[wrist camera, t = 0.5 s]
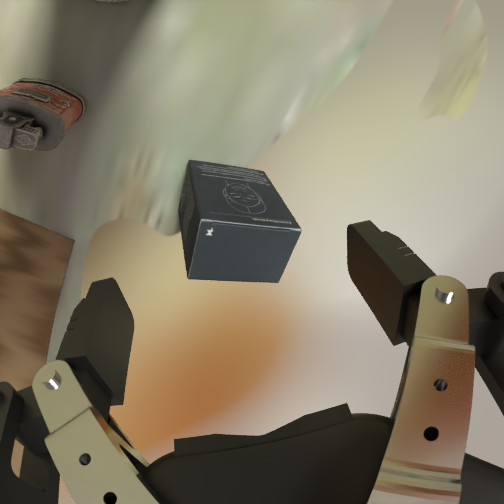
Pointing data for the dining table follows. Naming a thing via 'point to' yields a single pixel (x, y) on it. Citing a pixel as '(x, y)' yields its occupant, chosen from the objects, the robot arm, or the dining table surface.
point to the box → (234, 224)
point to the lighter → (37, 114)
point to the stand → (27, 300)
